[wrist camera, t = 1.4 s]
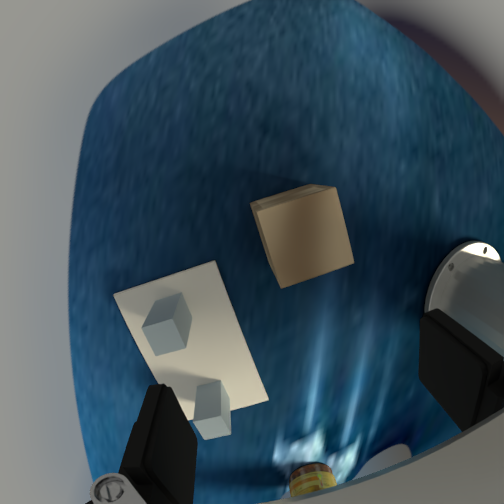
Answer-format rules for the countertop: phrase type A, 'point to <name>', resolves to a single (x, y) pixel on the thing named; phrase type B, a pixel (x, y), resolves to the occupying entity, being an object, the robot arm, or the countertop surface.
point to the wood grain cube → (303, 233)
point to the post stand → (194, 345)
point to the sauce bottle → (311, 479)
